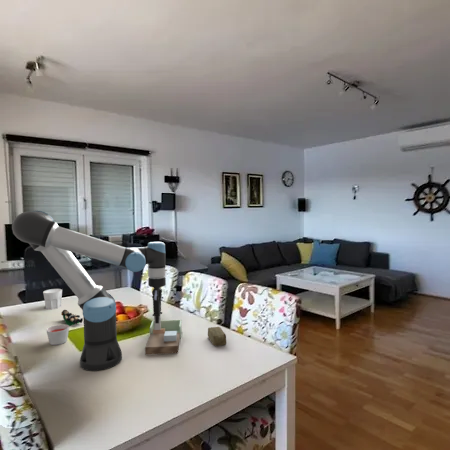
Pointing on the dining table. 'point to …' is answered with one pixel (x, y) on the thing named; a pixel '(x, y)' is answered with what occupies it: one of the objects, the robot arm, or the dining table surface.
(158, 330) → the tile terracotta
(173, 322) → the tray
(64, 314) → the figurine
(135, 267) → the robot arm
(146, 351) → the board
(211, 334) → the stone block
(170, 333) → the pale blue square block
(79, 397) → the dining table surface
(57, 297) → the cup
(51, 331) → the candle
